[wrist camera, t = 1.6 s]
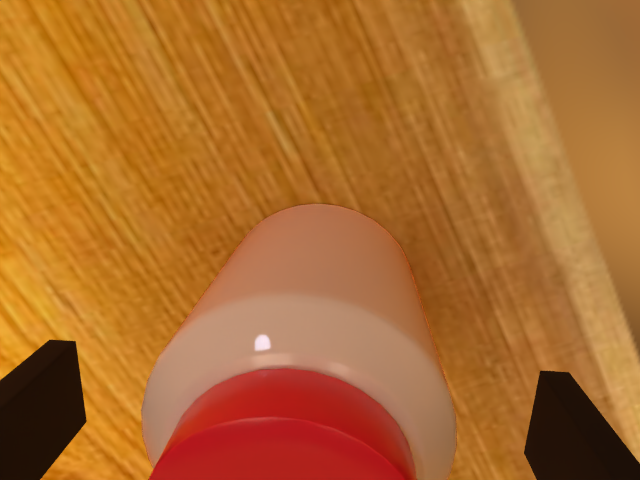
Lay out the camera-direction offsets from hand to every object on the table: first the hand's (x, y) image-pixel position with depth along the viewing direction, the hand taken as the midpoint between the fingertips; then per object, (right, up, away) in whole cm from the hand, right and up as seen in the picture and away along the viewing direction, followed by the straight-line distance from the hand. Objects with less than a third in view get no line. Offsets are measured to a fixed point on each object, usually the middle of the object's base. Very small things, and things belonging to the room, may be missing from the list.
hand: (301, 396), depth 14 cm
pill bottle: (0, +2, +6) cm, 7 cm away
